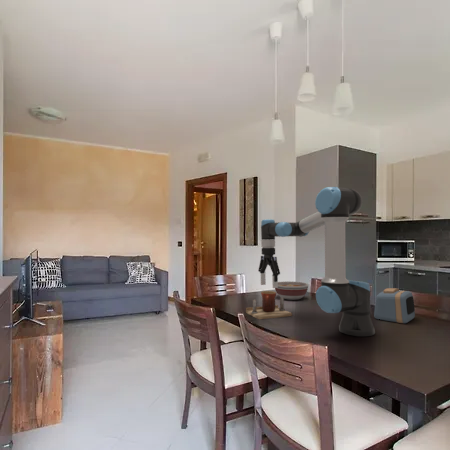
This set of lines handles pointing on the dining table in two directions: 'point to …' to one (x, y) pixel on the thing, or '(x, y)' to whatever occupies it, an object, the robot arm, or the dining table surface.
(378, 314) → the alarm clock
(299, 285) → the bowl
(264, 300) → the mug
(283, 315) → the caddy
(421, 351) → the dining table surface
